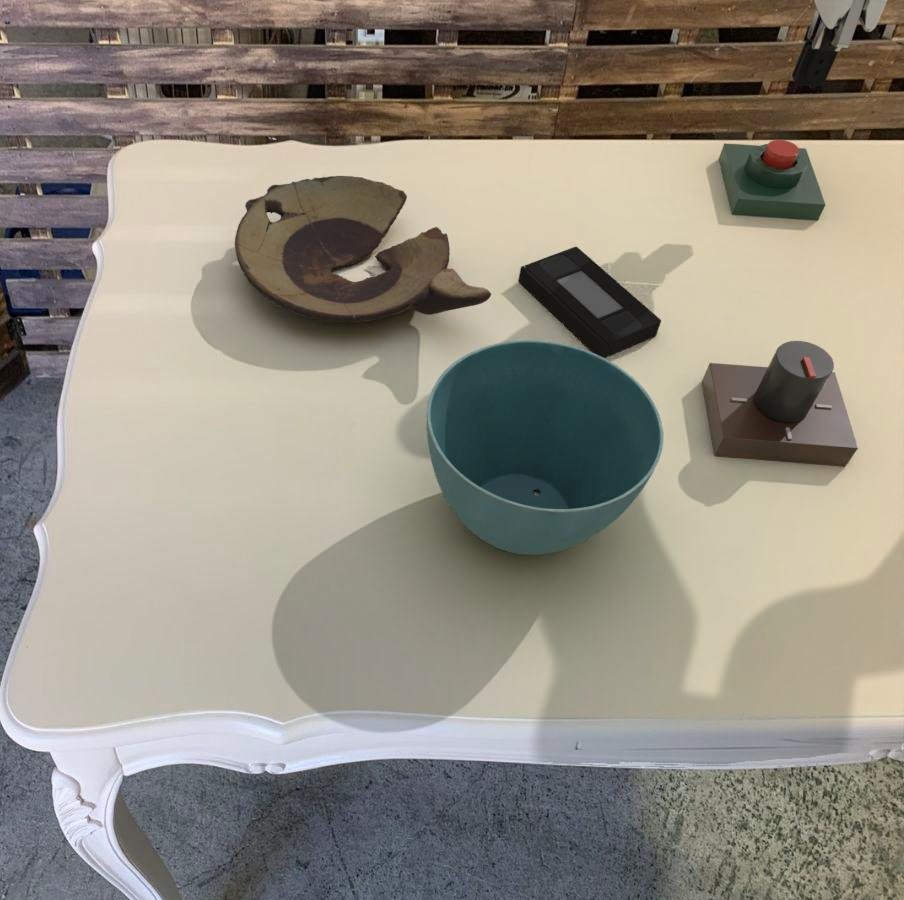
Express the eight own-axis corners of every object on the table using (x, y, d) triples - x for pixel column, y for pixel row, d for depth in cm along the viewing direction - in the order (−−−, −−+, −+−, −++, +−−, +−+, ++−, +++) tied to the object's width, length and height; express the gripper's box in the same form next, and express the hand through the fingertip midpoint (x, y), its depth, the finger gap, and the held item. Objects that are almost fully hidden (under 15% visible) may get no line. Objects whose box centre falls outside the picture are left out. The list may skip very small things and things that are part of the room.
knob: (748, 383, 86) (771, 336, 81) (801, 385, 86) (827, 338, 81) (760, 421, 83) (784, 375, 78) (814, 423, 83) (842, 377, 78)
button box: (799, 164, 113) (812, 134, 110) (817, 221, 106) (832, 190, 103) (718, 159, 113) (729, 129, 110) (731, 215, 106) (743, 184, 103)
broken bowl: (376, 192, 108) (377, 132, 102) (517, 340, 93) (529, 279, 87) (204, 246, 102) (194, 184, 96) (325, 414, 86) (323, 354, 80)
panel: (824, 390, 89) (835, 370, 87) (846, 466, 83) (859, 447, 81) (701, 381, 90) (710, 361, 87) (714, 456, 84) (723, 436, 82)
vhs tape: (572, 261, 101) (576, 246, 99) (656, 336, 94) (662, 321, 92) (518, 281, 99) (520, 266, 97) (600, 360, 91) (604, 345, 90)
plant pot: (564, 419, 86) (591, 318, 76) (664, 566, 76) (711, 471, 66) (387, 468, 82) (392, 368, 73) (469, 629, 72) (487, 539, 62)
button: (790, 154, 108) (796, 140, 106) (795, 171, 106) (801, 157, 104) (759, 152, 108) (765, 138, 106) (764, 169, 106) (770, 155, 104)
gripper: (952, -79, 80) (856, 120, 95) (909, -140, 89) (827, 51, 103) (866, -85, 80) (784, 115, 95) (832, -144, 89) (761, 47, 104)
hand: (806, 81), depth 99 cm, fingers closed
